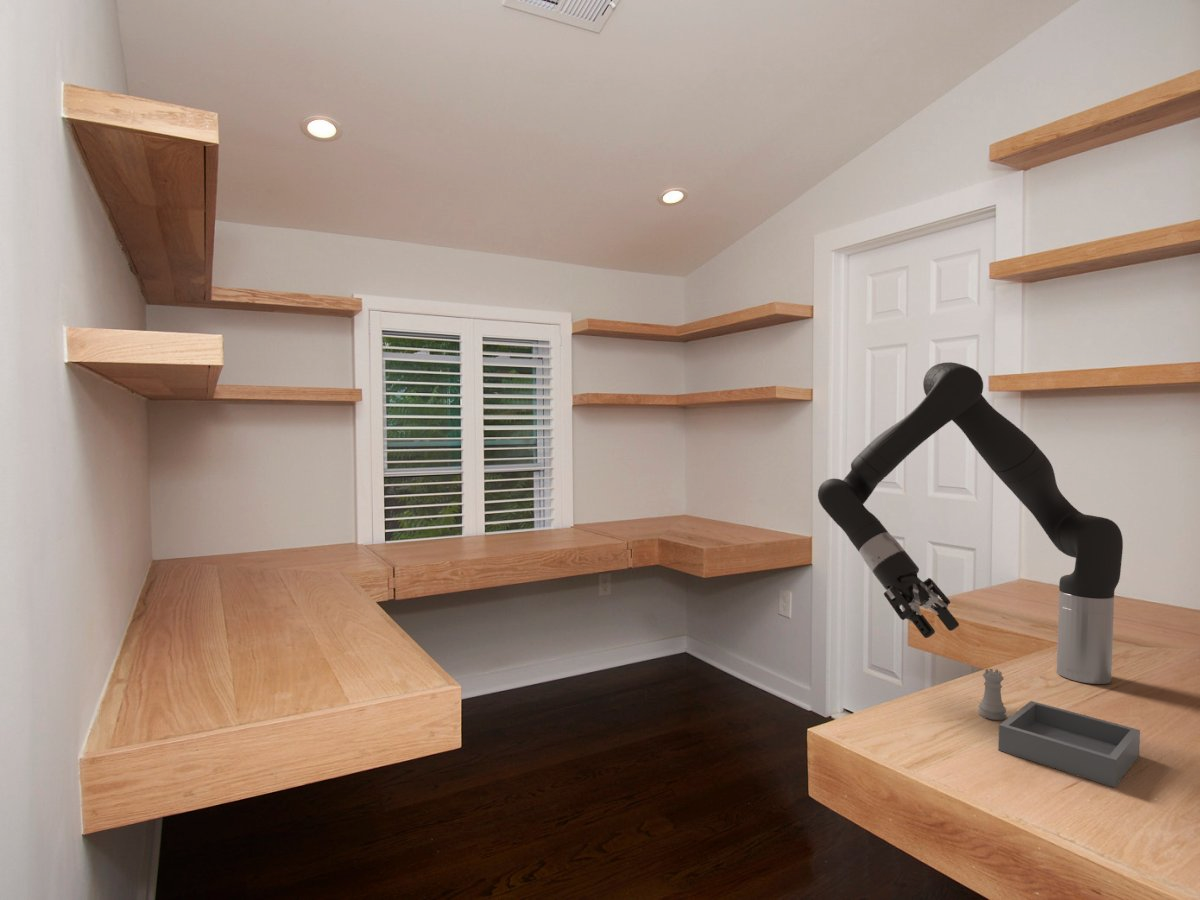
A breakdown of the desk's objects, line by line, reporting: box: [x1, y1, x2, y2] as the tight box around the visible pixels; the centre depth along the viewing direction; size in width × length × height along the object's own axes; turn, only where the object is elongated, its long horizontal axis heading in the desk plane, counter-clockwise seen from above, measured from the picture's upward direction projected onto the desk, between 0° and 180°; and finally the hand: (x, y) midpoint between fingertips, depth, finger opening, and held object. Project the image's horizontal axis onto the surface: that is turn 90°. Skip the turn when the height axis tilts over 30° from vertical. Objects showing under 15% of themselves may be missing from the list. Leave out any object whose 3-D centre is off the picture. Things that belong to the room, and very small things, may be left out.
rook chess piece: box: [977, 668, 1008, 721], centre depth 121 cm, size 4×4×8 cm
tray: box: [998, 700, 1141, 789], centre depth 108 cm, size 15×15×4 cm
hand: (943, 631), depth 129 cm, fingers open, 8 cm apart
